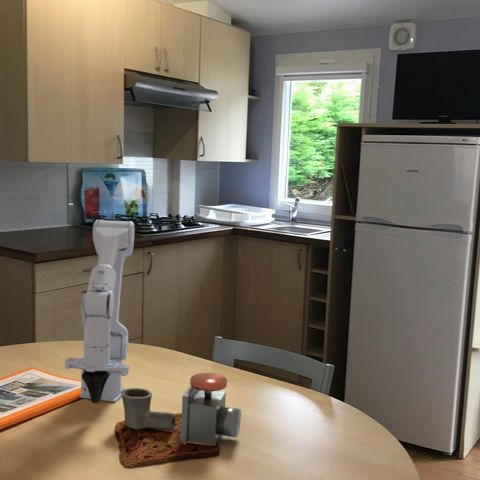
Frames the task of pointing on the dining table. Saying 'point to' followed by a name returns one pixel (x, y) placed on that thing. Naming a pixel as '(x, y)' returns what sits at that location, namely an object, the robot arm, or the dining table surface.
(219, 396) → the valve
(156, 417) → the pipe
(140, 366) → the dining table surface
